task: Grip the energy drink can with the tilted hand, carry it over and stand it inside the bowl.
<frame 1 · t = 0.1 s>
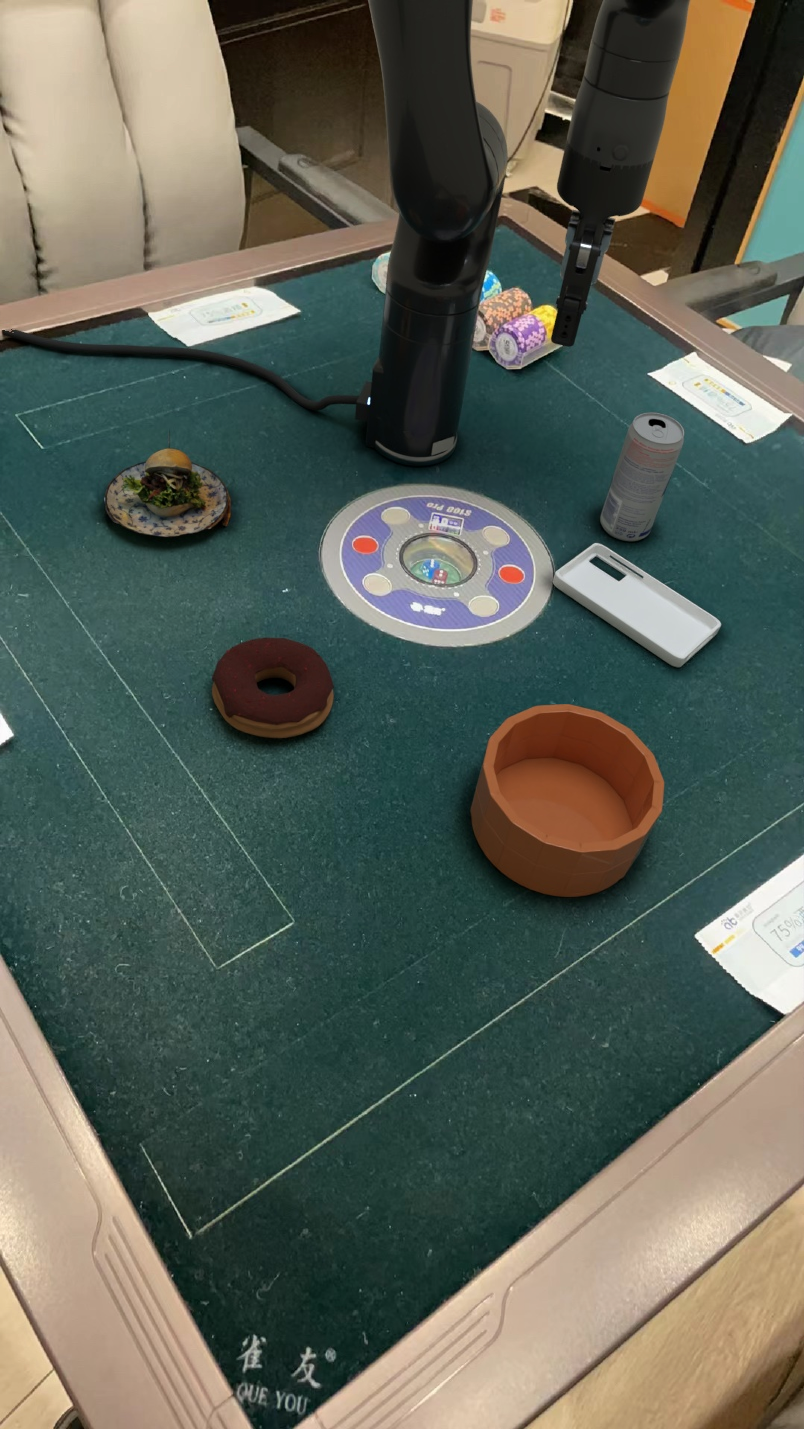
hand: (567, 320, 100), 17 cm above the table, tool pointing down, fingers open, 8 cm apart
energy drink: (624, 527, 109), on the table
bowl: (555, 822, 84), on the table
donut: (273, 702, 89), on the table
burger: (169, 511, 103), on the table
phone case: (633, 609, 101), on the table
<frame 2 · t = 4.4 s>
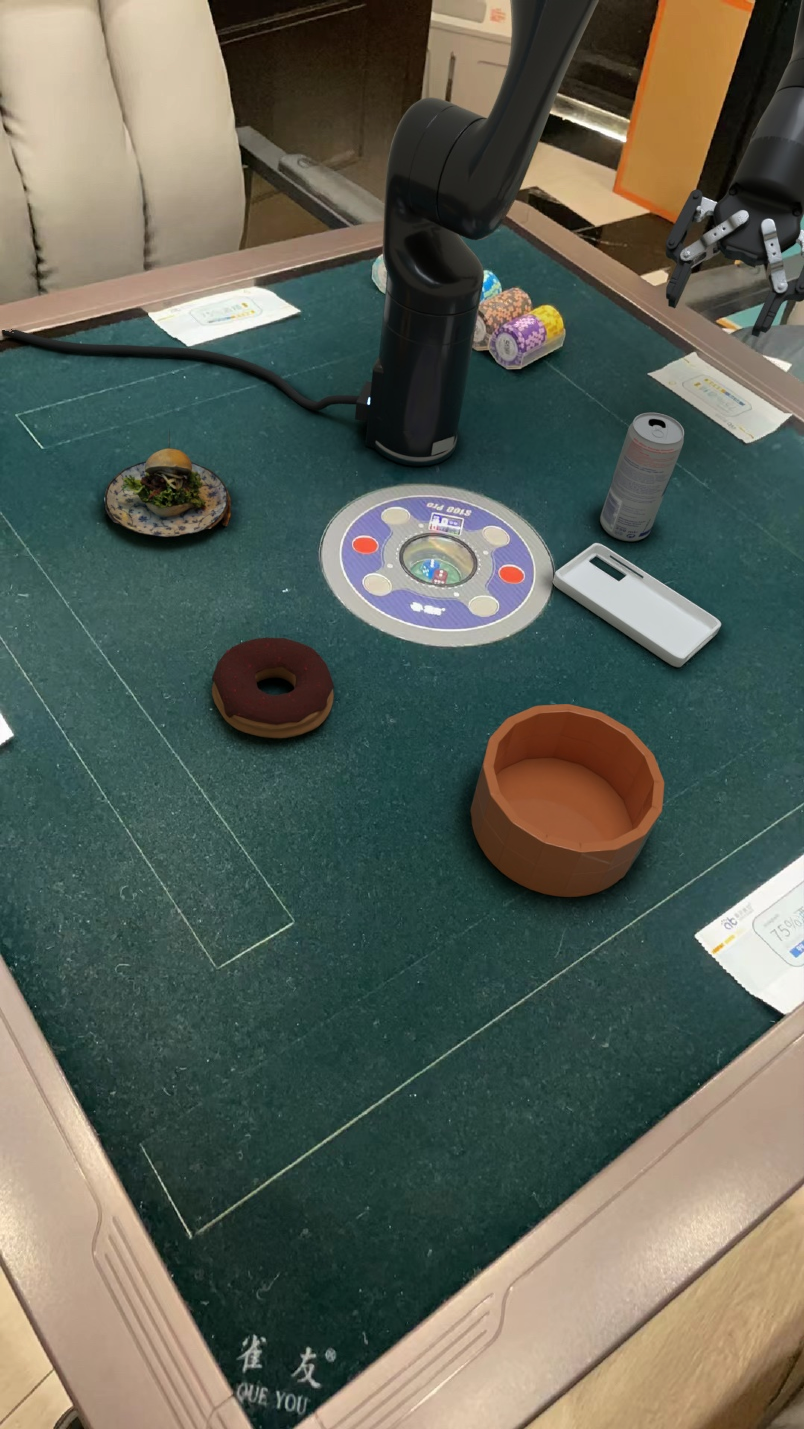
hand: (712, 318, 102), 18 cm above the table, tool tilted 45°, fingers open, 8 cm apart
nothing on the table moved.
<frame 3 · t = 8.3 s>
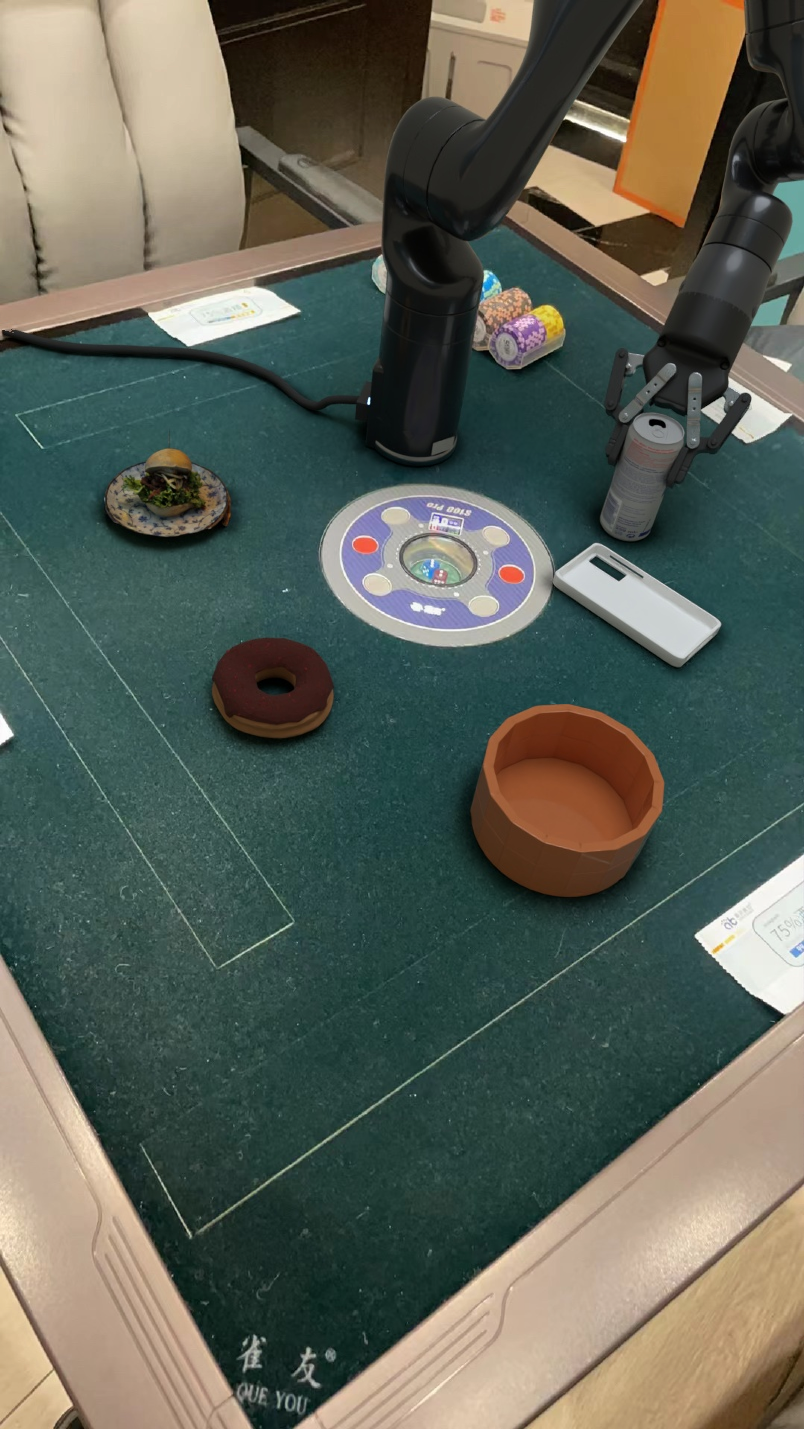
hand: (639, 474, 102), 8 cm above the table, tool tilted 45°, fingers closed on energy drink, 5 cm apart
energy drink: (623, 527, 109), on the table, touching gripper
everything else where it was.
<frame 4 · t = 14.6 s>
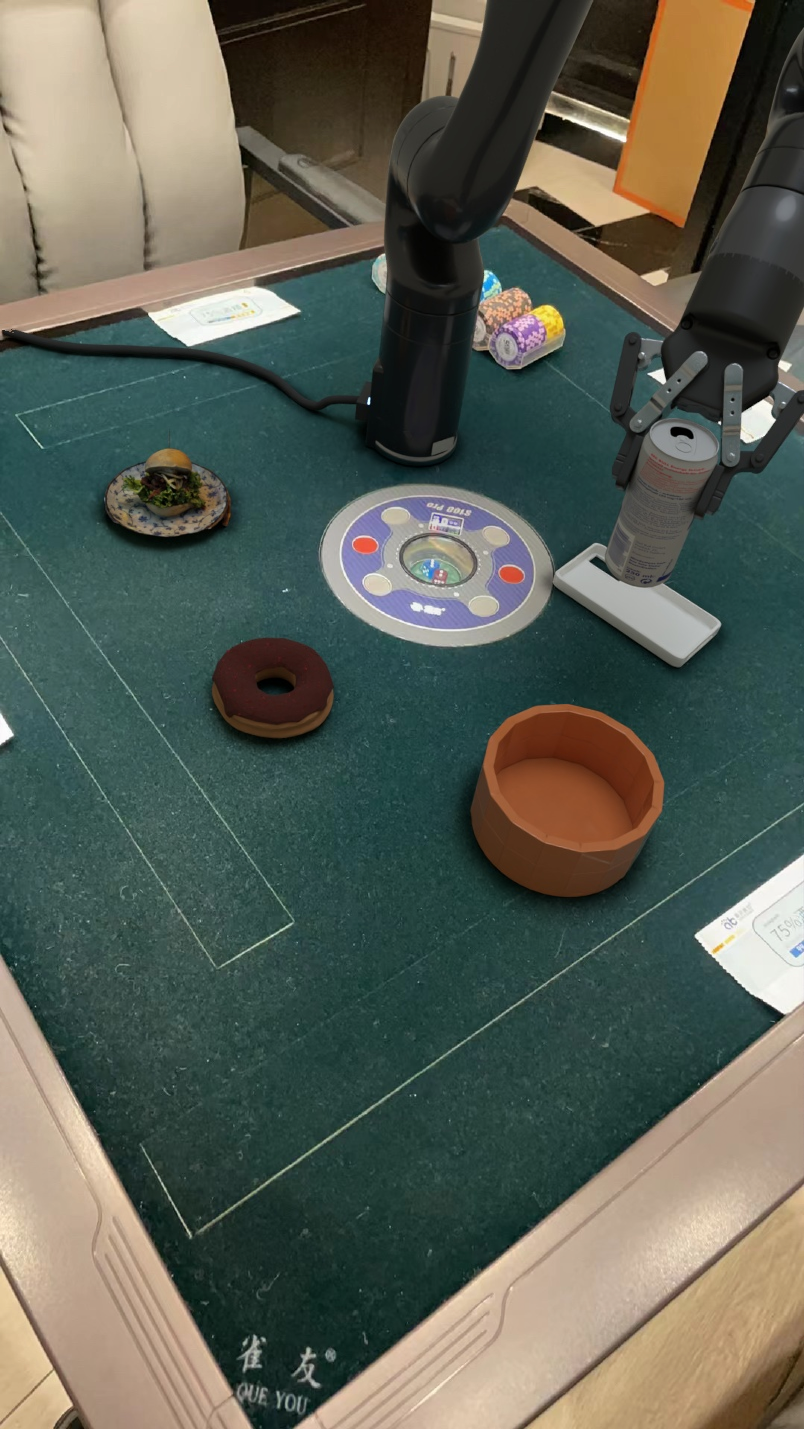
hand: (658, 501, 75), 22 cm above the table, tool tilted 45°, fingers closed on energy drink, 5 cm apart
energy drink: (636, 568, 83), point 14 cm above the table, touching gripper
everything else where it was.
when the fingers open (8 cm above the table, at t = 21.0 s): energy drink stays where it is, resting on bowl.
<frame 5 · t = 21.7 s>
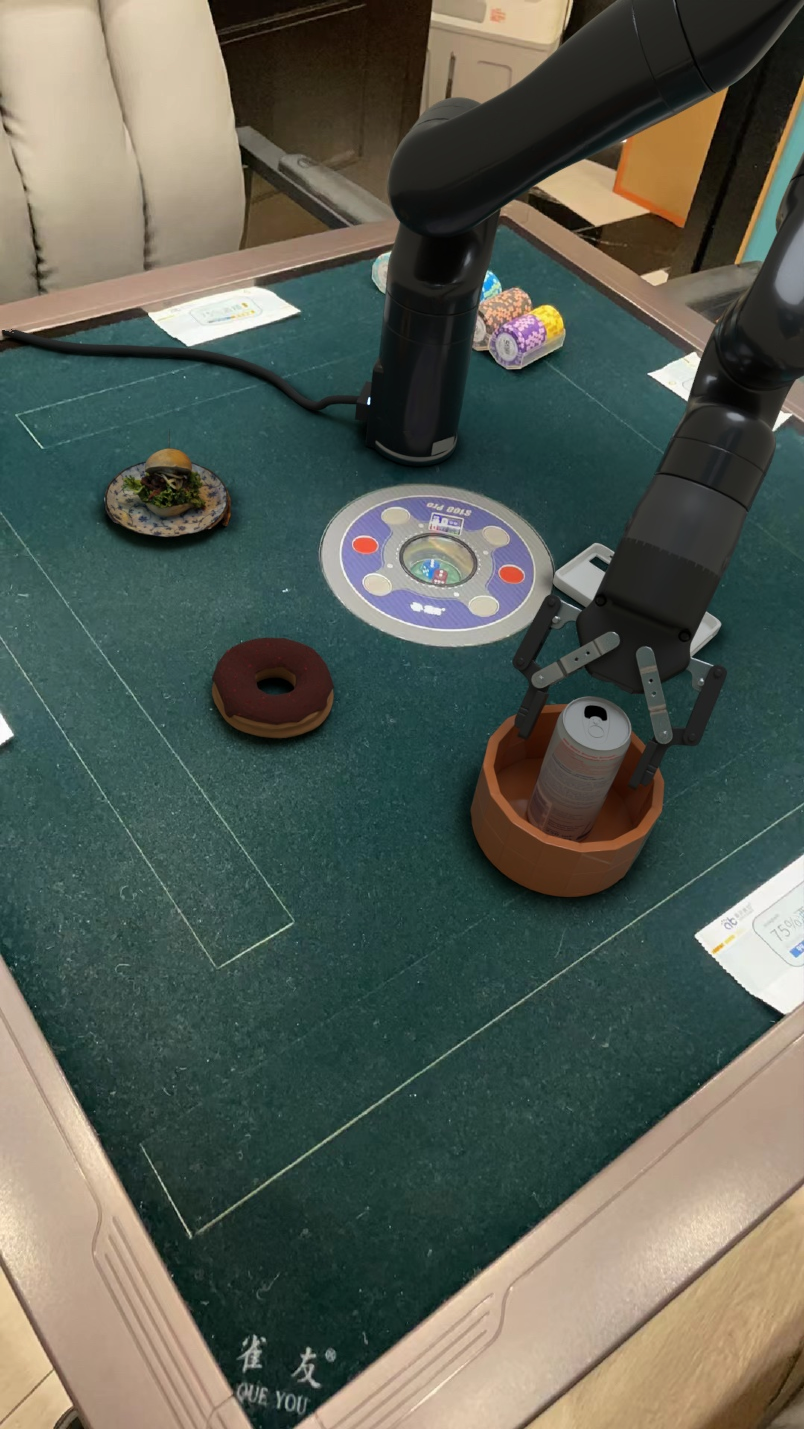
hand: (576, 762, 76), 9 cm above the table, tool tilted 45°, fingers open, 8 cm apart
energy drink: (558, 819, 83), resting on bowl
everything else where it was.
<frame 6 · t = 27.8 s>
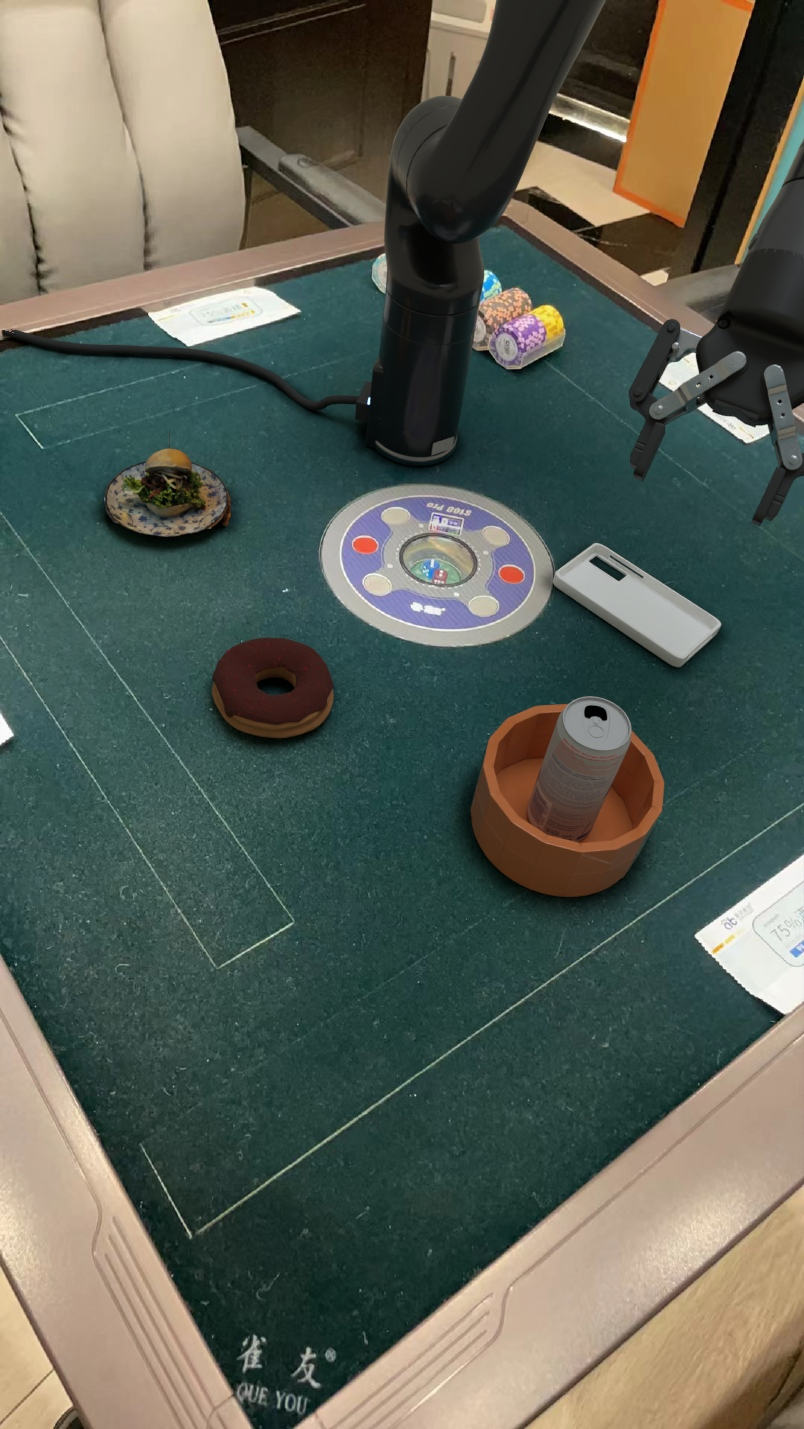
hand: (695, 500, 72), 25 cm above the table, tool tilted 45°, fingers open, 8 cm apart
nothing on the table moved.
at the end: energy drink inside the target area in the bowl (0.2 cm from its centre), point 0.3 cm above the bowl's base; energy drink tilted 0°; the gripper is holding nothing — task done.
